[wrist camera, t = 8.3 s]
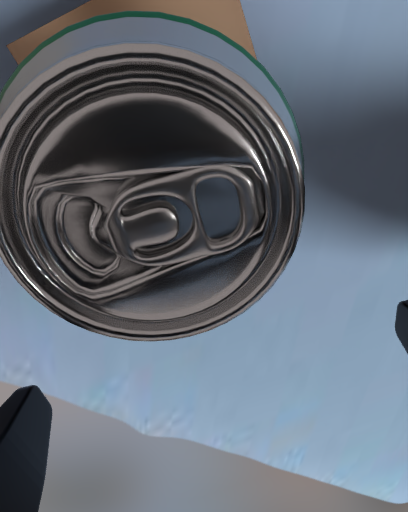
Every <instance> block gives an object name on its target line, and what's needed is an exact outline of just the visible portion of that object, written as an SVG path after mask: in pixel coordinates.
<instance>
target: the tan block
mask: <svg viewBox="0 0 408 512" xmlns="http://www.w3.org/2000/svg"><path fill="white" fill-rule="evenodd" d="M122 11H155V12H163V13H167V14H172V15H176V16H181V17H185V18H189V19H192V20H194V21H197V22H199V23H201V24H204V25H206V26H208V27H211V28H213V29H215V30H218V31H219V32H221V33H222V34H224V35H225V36H227V37H228V38H230V39H231V40H233V41H234V42H236V43H238V44H239V45H241V46H242V47H243V48H244V49H245V50H247V51H248V52H249V53H250V54H251V55H252V56H253V57H254V58H255V59H256V60H257V58H256V55H255V51H254V48H253V45H252V41H251V38H250V34H249V31H248V27H247V24H246V21H245V17H244V14H243V10H242V7H241V3H240V0H91V1H89V2H87V3H85V4H83V5H81V6H79V7H77V8H76V9H74V10H72V11H70V12H68V13H66V14H64V15H62V16H61V17H59V18H57V19H55V20H53V21H51V22H49V23H48V24H46V25H44V26H42V27H40V28H38V29H36V30H34V31H33V32H31V33H29V34H27V35H25V36H23V37H21V38H19V39H18V40H16V41H14V42H12V43H10V44H8V45H6V46H7V48H8V49H9V51H10V52H11V54H12V55H13V57H14V59H15V60H16V62H17V63H18V65H19V64H20V63H21V62H22V61H23V60H24V59H25V58H26V57H27V56H28V55H29V54H30V53H31V52H32V51H33V50H34V49H35V48H36V47H37V46H38V45H40V44H41V43H42V42H43V41H45V40H46V39H48V38H50V37H51V36H53V35H54V34H56V33H58V32H59V31H61V30H63V29H64V28H66V27H67V26H70V25H73V24H75V23H78V22H81V21H83V20H86V19H89V18H91V17H94V16H97V15H103V14H110V13H116V12H122Z"/></svg>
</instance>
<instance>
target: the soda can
mask: <svg viewBox="0 0 408 512" xmlns="http://www.w3.org/2000/svg"><path fill="white" fill-rule="evenodd" d="M304 206H305V187H304V157H303V150H302V144H301V137H300V134H299V131H298V127H297V124H296V121H295V118H294V115H293V112H292V110H291V108H290V106H289V104H288V102H287V101H286V99H285V97H284V95H283V93H282V91H281V89H280V88H279V86H278V85H277V84H276V82H275V81H274V80H273V78H272V77H271V76H270V74H269V73H268V72H267V70H266V69H265V68H264V66H263V65H261V64H260V63H259V62H258V61H257V60H256V59H255V58H254V57H253V56H252V55H251V54H250V53H249V52H248V51H247V50H245V49H244V48H243V47H242V46H241V45H239V44H238V43H236V42H234V41H233V40H231V39H230V38H228V37H227V36H225V35H224V34H222V33H221V32H219V31H218V30H215V29H213V28H211V27H208V26H206V25H204V24H201V23H199V22H197V21H194V20H192V19H189V18H185V17H181V16H176V15H172V14H167V13H163V12H155V11H122V12H116V13H110V14H103V15H97V16H94V17H91V18H89V19H86V20H83V21H81V22H78V23H75V24H73V25H70V26H67V27H66V28H64V29H63V30H61V31H59V32H58V33H56V34H54V35H53V36H51V37H50V38H48V39H46V40H45V41H43V42H42V43H41V44H40V45H38V46H37V47H36V48H35V49H34V50H33V51H32V52H31V53H30V54H29V55H28V56H27V57H26V58H25V59H24V60H23V61H22V62H21V63H20V64H19V65H18V67H17V68H16V70H15V71H14V72H13V74H12V75H11V77H10V78H9V80H8V81H7V82H6V84H5V85H4V87H3V89H2V91H1V94H0V257H1V258H2V260H3V262H4V264H5V265H6V267H7V268H8V269H9V271H10V272H11V273H12V275H13V276H14V278H15V279H16V280H17V282H18V283H19V284H20V285H21V286H22V287H23V288H24V289H25V290H26V291H27V292H28V293H29V294H30V295H31V296H32V297H33V298H34V299H35V300H37V301H38V302H39V303H41V304H42V305H43V306H45V307H46V308H47V309H48V310H50V311H51V312H53V313H54V314H56V315H58V316H59V317H61V318H63V319H65V320H66V321H68V322H70V323H72V324H74V325H77V326H79V327H81V328H84V329H86V330H88V331H91V332H95V333H98V334H101V335H105V336H108V337H113V338H119V339H125V340H133V341H164V340H174V339H179V338H184V337H190V336H193V335H197V334H200V333H203V332H206V331H209V330H212V329H214V328H216V327H218V326H220V325H223V324H225V323H227V322H229V321H230V320H232V319H234V318H235V317H237V316H239V315H240V314H242V313H244V312H245V311H246V310H247V309H249V308H250V307H251V306H252V305H254V304H255V303H256V302H257V301H259V300H260V299H261V298H262V297H263V296H264V295H265V294H266V292H267V291H268V290H269V289H270V288H271V287H272V286H273V285H274V284H275V282H276V281H277V279H278V278H279V277H280V275H281V274H282V272H283V271H284V270H285V268H286V266H287V264H288V262H289V260H290V258H291V256H292V254H293V252H294V250H295V247H296V244H297V241H298V238H299V235H300V232H301V227H302V222H303V216H304Z"/></svg>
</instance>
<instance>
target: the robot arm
mask: <svg viewBox="0 0 408 512" xmlns="http://www.w3.org/2000/svg"><path fill="white" fill-rule="evenodd" d="M395 331H396V334H397V336H398V338H399V340H400V341H401V343H402V345H403V347H404V348H405V350H406V352H407V354H408V300H406V301H401V302H400V303H399V304H398V306H397V313H396V321H395ZM51 420H52V408H51V405H50V403H49V402H48V400H47V399H46V397H45V396H44V395H43V393H42V392H41V390H40V389H39V388H38V387H37V386H35V385H31V386H27V387H22V388H19V389H17V390H16V391H15V392H14V393H13V394H12V395H11V396H10V397H9V398H8V399H7V400H6V402H4V403H3V405H2V406H1V407H0V512H38V510H39V505H40V500H41V495H42V491H43V486H44V480H45V474H46V466H47V457H48V448H49V439H50V430H51Z"/></svg>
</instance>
